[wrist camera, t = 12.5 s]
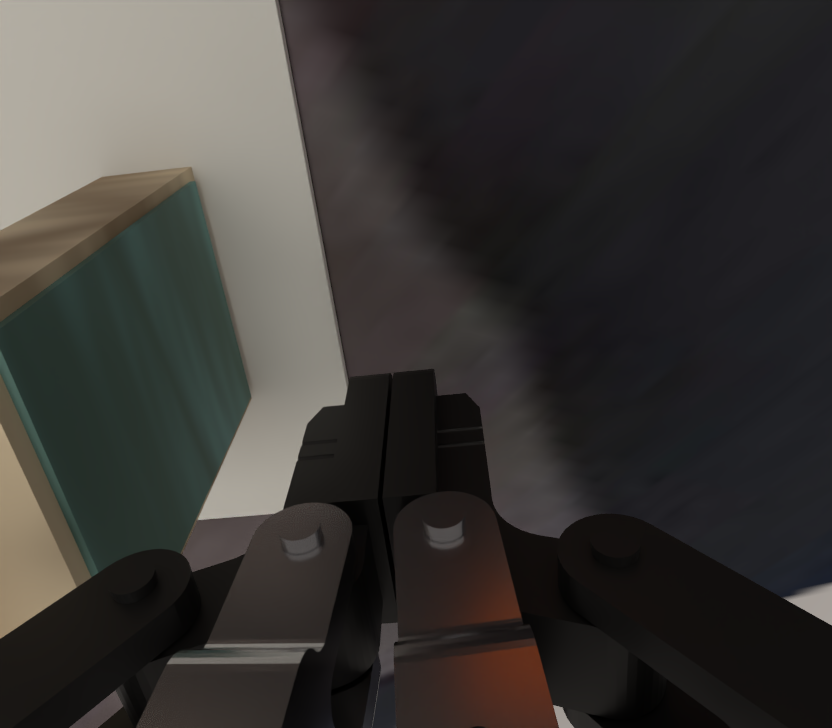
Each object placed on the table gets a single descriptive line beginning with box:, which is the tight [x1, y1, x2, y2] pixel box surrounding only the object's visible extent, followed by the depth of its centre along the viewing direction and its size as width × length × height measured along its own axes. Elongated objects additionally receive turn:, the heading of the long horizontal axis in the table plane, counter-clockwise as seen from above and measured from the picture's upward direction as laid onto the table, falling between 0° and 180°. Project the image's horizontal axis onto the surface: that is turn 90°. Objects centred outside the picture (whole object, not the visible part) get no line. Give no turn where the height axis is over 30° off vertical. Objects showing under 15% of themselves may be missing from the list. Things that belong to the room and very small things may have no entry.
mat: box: [0, 0, 349, 520], centre depth 20 cm, size 16×16×1 cm
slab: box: [0, 167, 252, 639], centre depth 15 cm, size 2×7×10 cm, turn 6°
